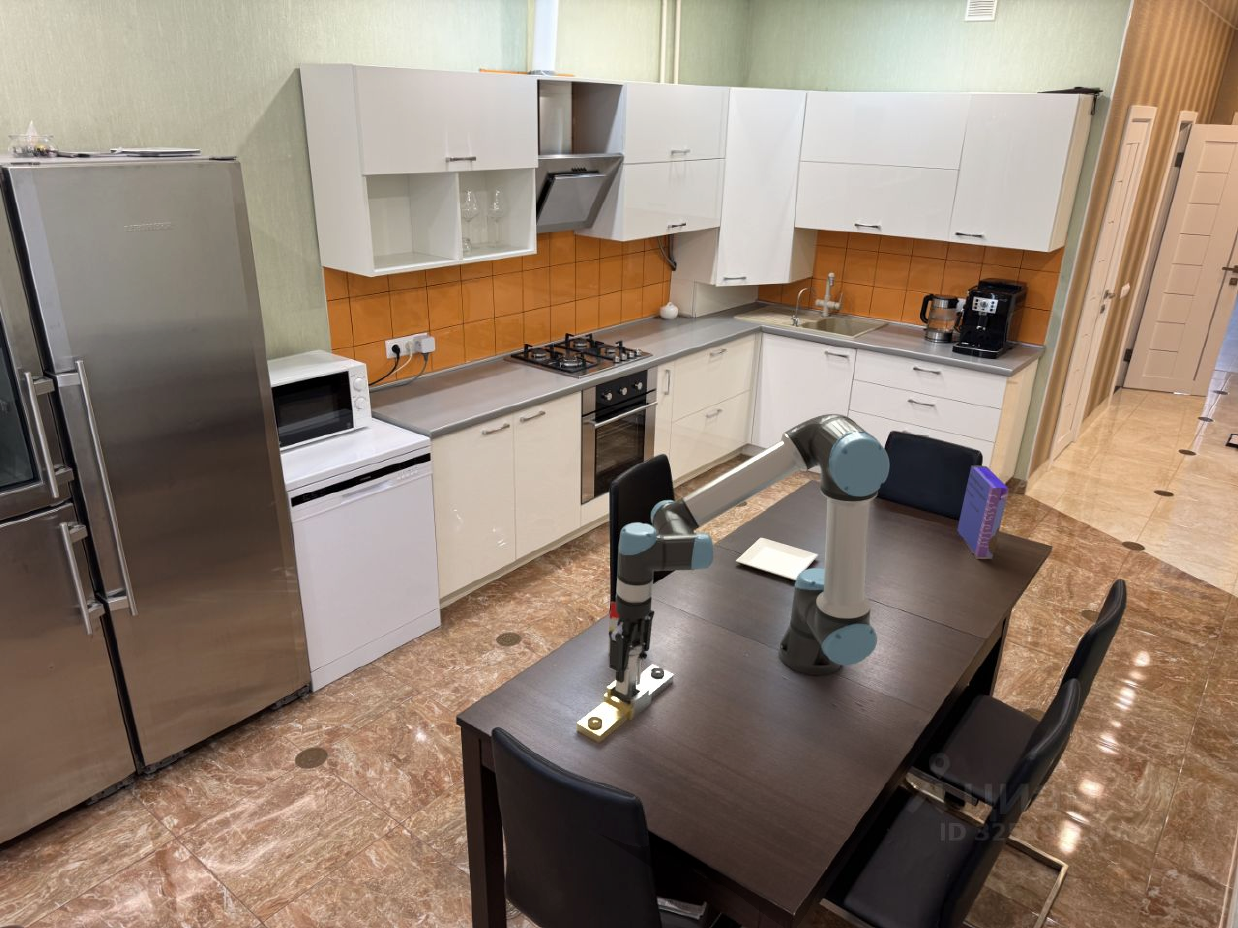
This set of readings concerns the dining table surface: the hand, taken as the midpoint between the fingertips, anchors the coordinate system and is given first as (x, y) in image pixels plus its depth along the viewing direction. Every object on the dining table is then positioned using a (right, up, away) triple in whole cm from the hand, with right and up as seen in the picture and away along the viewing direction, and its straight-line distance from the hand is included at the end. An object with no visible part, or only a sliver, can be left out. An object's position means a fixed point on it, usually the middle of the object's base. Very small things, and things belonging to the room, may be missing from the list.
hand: (627, 686), depth 190 cm
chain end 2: (+3, -3, +6) cm, 7 cm away
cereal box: (+110, +23, +82) cm, 139 cm away
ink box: (0, +3, +20) cm, 21 cm away
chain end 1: (-3, -6, -2) cm, 7 cm away
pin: (0, -2, +1) cm, 2 cm away
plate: (+45, +19, +67) cm, 82 cm away
